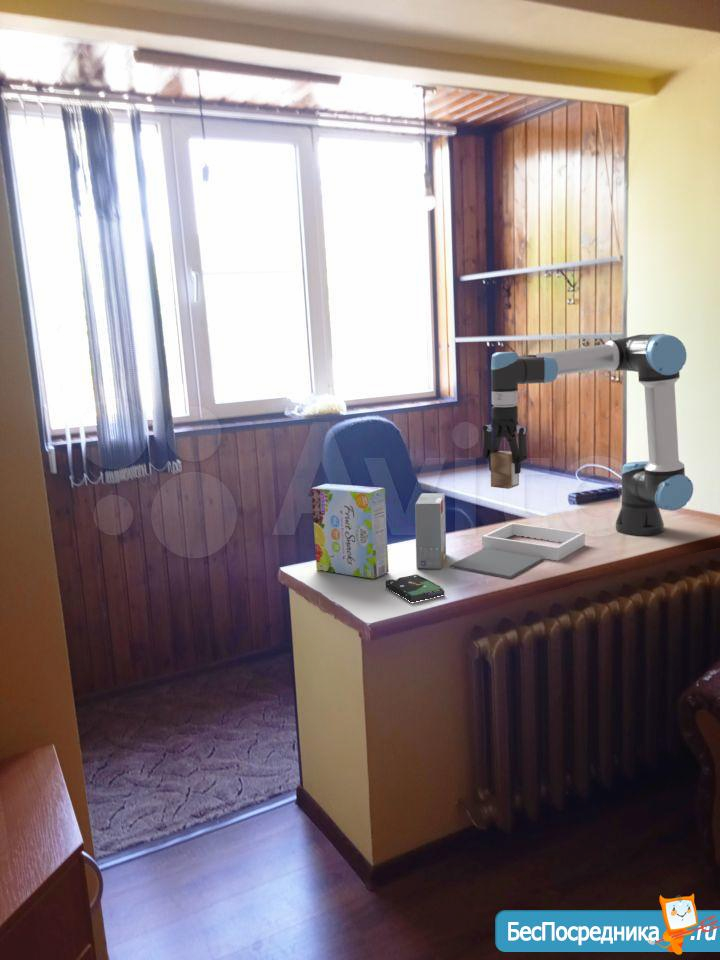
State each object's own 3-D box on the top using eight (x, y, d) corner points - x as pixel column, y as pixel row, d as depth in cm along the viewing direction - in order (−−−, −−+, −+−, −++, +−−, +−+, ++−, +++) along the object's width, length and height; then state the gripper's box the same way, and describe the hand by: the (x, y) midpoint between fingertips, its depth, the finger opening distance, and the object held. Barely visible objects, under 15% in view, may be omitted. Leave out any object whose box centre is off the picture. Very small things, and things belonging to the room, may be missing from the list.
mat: (543, 560, 228) (543, 557, 228) (510, 578, 213) (510, 576, 213) (485, 550, 241) (485, 547, 241) (450, 567, 226) (450, 564, 226)
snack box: (390, 572, 225) (387, 487, 220) (374, 581, 218) (370, 493, 213) (331, 562, 237) (326, 481, 232) (314, 570, 230) (309, 487, 225)
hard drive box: (442, 569, 224) (440, 504, 220) (416, 569, 226) (413, 504, 222) (446, 554, 239) (445, 492, 235) (422, 553, 241) (420, 492, 237)
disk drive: (384, 590, 211) (412, 605, 198) (384, 580, 211) (411, 595, 198) (416, 583, 216) (445, 597, 203) (416, 573, 215) (445, 587, 202)
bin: (584, 545, 241) (584, 532, 240) (557, 560, 227) (557, 548, 226) (511, 534, 257) (511, 522, 257) (482, 548, 243) (481, 536, 242)
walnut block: (518, 485, 227) (518, 452, 225) (508, 488, 222) (508, 455, 221) (501, 483, 231) (501, 450, 229) (490, 486, 226) (490, 453, 224)
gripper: (469, 405, 225) (470, 482, 230) (527, 408, 213) (527, 488, 218) (483, 403, 231) (483, 477, 235) (540, 405, 219) (539, 484, 223)
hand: (504, 482), depth 226 cm, fingers closed on walnut block, 6 cm apart
